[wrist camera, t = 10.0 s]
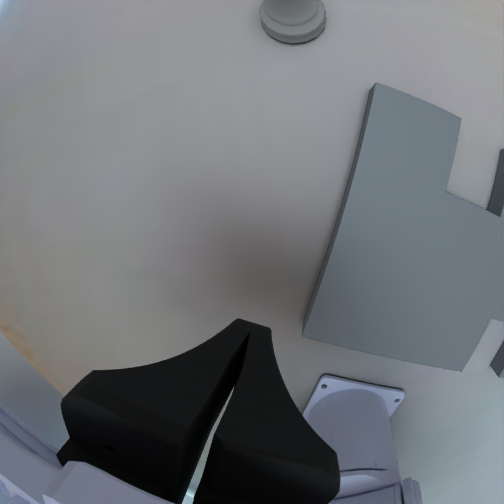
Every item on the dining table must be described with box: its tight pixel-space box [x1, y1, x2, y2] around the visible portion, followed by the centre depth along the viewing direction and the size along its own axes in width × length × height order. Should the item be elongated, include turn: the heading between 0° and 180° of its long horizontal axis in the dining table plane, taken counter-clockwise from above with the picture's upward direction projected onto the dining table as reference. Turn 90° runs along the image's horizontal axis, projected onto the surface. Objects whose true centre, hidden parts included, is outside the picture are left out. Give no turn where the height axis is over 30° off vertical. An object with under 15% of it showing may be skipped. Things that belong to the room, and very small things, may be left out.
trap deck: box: [302, 83, 504, 378], centre depth 17 cm, size 17×26×2 cm, turn 76°
